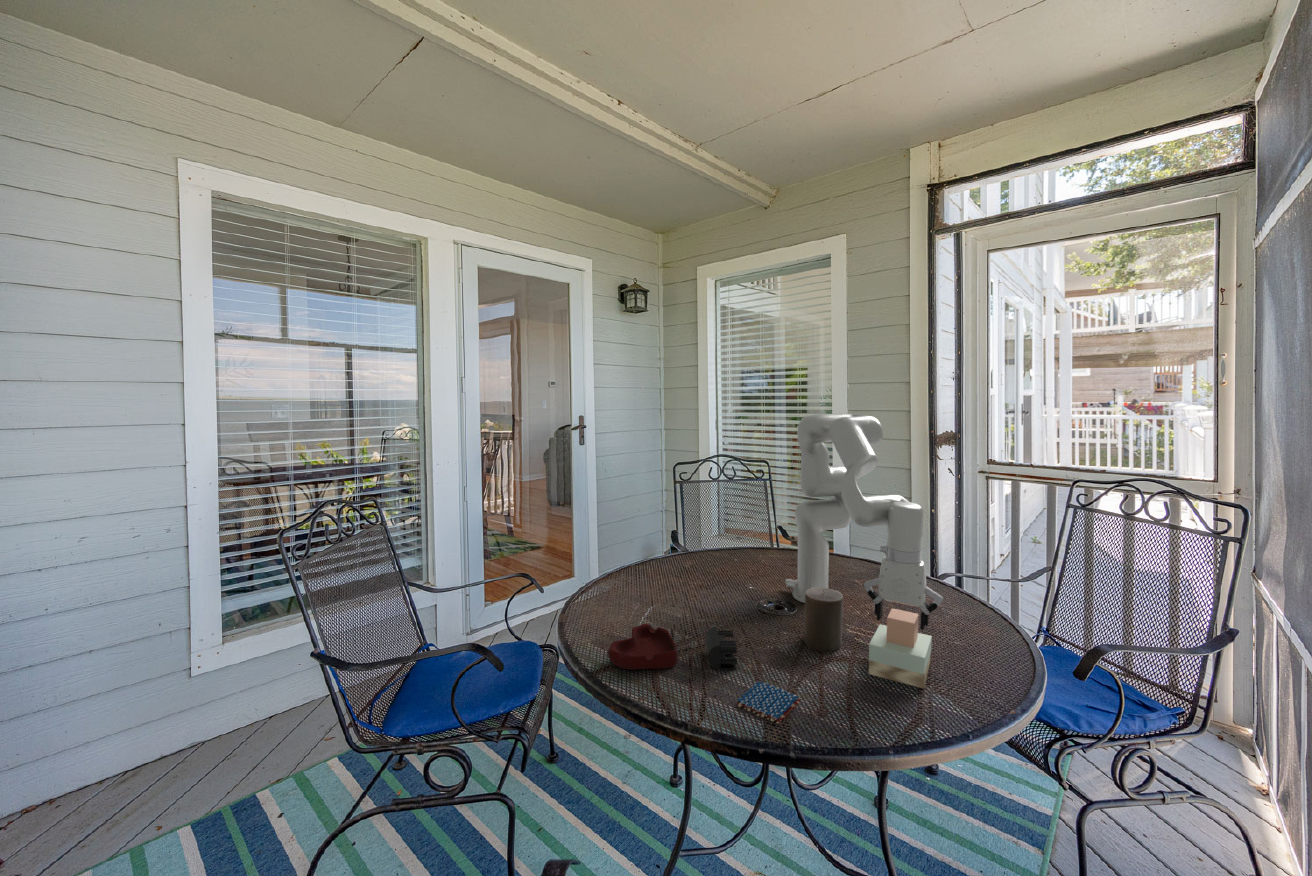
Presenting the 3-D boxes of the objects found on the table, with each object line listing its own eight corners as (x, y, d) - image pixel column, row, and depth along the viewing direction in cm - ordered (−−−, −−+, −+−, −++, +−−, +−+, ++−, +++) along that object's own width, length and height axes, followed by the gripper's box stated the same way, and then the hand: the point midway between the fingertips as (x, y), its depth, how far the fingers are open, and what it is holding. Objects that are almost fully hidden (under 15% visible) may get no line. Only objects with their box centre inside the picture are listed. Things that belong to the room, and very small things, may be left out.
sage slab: (868, 660, 129) (869, 644, 128) (879, 639, 138) (879, 624, 138) (924, 674, 122) (924, 657, 121) (931, 651, 132) (931, 636, 131)
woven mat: (779, 728, 111) (779, 719, 110) (735, 708, 117) (735, 699, 117) (801, 704, 118) (802, 695, 118) (759, 686, 125) (759, 678, 125)
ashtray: (658, 686, 126) (657, 666, 125) (602, 668, 134) (601, 649, 134) (693, 652, 141) (693, 634, 140) (641, 637, 149) (641, 620, 149)
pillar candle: (822, 655, 138) (824, 599, 136) (796, 639, 146) (797, 586, 144) (849, 646, 142) (851, 592, 140) (822, 631, 151) (824, 579, 149)
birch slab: (868, 676, 129) (869, 660, 128) (878, 653, 139) (878, 639, 138) (924, 690, 123) (924, 674, 122) (929, 666, 133) (930, 650, 132)
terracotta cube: (886, 641, 129) (887, 617, 128) (891, 631, 134) (891, 608, 133) (913, 648, 126) (914, 623, 125) (917, 637, 131) (918, 613, 130)
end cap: (705, 650, 141) (704, 626, 140) (732, 650, 141) (732, 626, 140) (708, 671, 131) (707, 645, 131) (737, 671, 131) (737, 645, 130)
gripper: (862, 552, 129) (859, 620, 131) (943, 566, 119) (939, 638, 122) (868, 544, 135) (866, 608, 137) (946, 556, 126) (942, 625, 128)
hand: (900, 622), depth 130 cm, fingers open, 9 cm apart
